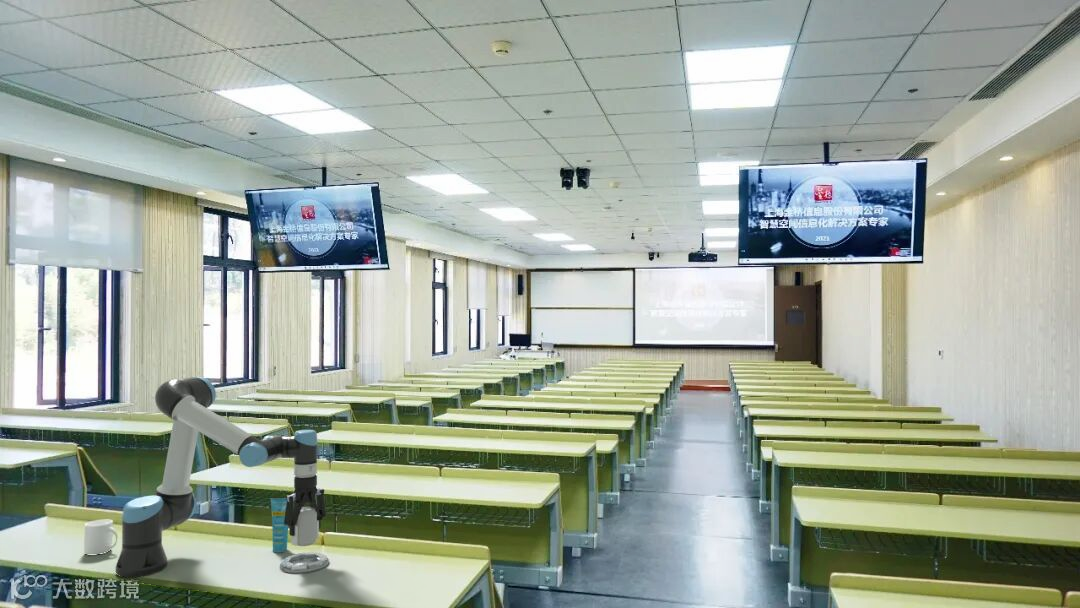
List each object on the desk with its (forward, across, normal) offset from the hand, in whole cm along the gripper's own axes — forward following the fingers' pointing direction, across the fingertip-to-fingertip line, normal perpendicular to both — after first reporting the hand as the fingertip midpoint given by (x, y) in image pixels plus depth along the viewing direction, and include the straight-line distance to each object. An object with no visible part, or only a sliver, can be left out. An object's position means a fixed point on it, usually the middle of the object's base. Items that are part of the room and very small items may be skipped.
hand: (305, 541), depth 233 cm
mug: (+8, -38, +70) cm, 80 cm away
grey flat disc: (+8, 0, 0) cm, 8 cm away
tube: (+8, +3, +20) cm, 22 cm away
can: (+1, 0, 0) cm, 1 cm away
